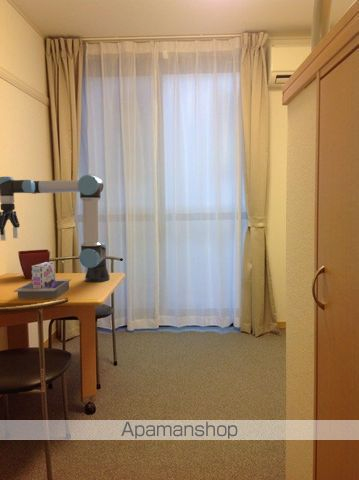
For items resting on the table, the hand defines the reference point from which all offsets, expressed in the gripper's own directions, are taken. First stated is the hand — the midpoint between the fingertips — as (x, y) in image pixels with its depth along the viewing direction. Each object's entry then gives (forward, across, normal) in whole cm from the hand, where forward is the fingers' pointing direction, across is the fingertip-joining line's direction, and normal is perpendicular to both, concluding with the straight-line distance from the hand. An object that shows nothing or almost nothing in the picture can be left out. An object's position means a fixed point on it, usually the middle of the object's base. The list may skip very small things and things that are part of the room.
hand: (9, 239), depth 222 cm
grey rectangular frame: (+28, +20, +29) cm, 45 cm away
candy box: (+28, +20, +29) cm, 45 cm away
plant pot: (+28, -26, +1) cm, 38 cm away
